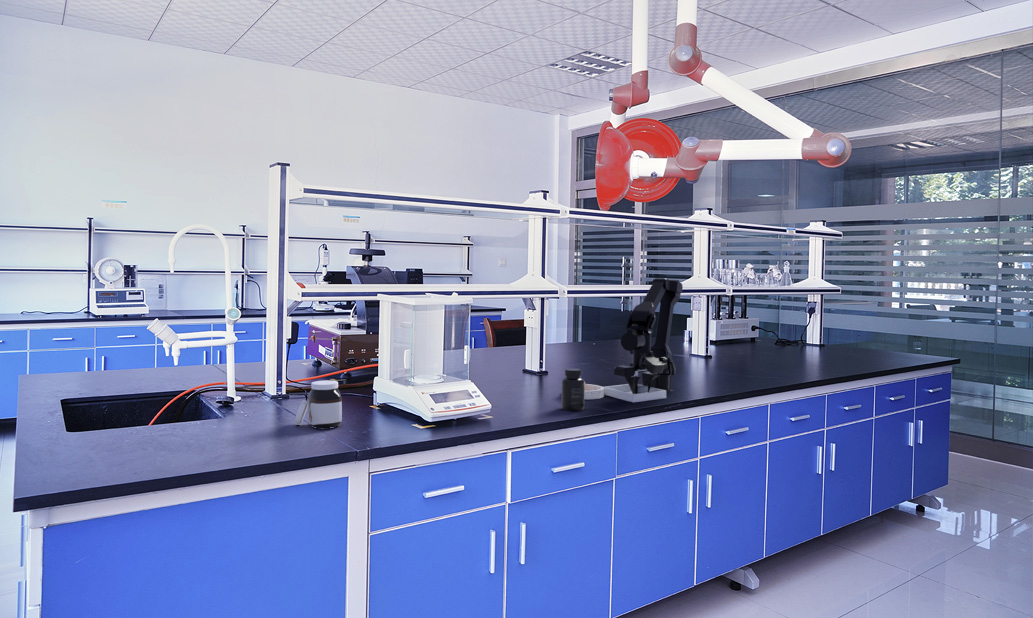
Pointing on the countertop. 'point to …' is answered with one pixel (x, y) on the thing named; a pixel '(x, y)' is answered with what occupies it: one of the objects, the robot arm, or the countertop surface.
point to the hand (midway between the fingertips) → (640, 395)
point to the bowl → (593, 391)
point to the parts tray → (626, 394)
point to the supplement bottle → (572, 390)
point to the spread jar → (322, 405)
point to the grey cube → (642, 388)
